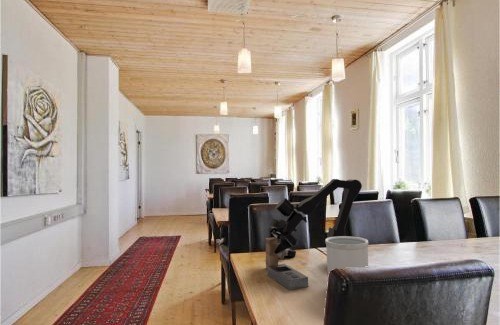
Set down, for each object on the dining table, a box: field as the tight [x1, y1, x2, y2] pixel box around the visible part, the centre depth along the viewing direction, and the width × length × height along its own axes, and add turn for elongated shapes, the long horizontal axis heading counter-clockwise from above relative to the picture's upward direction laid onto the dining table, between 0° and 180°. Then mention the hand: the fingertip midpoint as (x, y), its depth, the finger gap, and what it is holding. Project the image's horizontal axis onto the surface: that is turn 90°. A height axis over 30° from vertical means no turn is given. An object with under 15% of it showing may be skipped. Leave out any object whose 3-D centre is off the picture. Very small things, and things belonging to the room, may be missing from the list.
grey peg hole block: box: [266, 263, 309, 291], centre depth 118 cm, size 18×8×4 cm, turn 22°
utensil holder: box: [324, 235, 369, 276], centre depth 109 cm, size 15×15×18 cm
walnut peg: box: [265, 237, 279, 269], centre depth 133 cm, size 4×4×13 cm
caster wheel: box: [278, 242, 297, 260], centre depth 152 cm, size 7×11×10 cm
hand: (270, 250), depth 133 cm, fingers open, 9 cm apart
